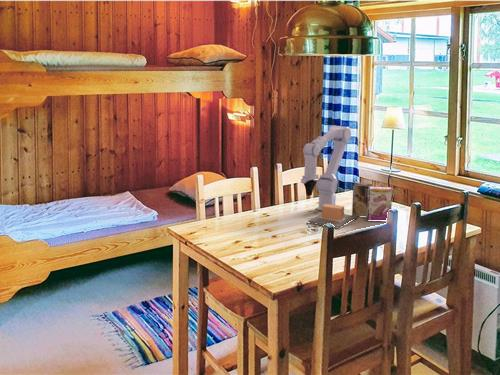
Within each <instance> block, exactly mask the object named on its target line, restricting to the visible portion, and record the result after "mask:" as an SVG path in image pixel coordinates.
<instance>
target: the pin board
mask: <svg viewBox="0 0 500 375" xmlns="http://www.w3.org/2000/svg"><path fill="white" fill-rule="evenodd" d="M355 218H357V219H358V217H357V216H352V214H346V213H344V219H342V220H341V221H338V220H331V219H324V218H322V213H320V214H319V215H317V216H315V217H313V218H310V219H308V221H307V222H310V223H309V224H311V223H317V224H321V225H324V224H327V223H331V224H333V225H334V226H335V227H338V228H339V227H341V226H343V225H344V224H346V223H348V222H349V221H351V220H353V219H355ZM355 220H356V219H355ZM353 221H354V220H353ZM348 224H349V223H348ZM321 225H320V226H321ZM335 227H334V228H333V229H336V228H335ZM343 227H344V226H343Z"/></svg>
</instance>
